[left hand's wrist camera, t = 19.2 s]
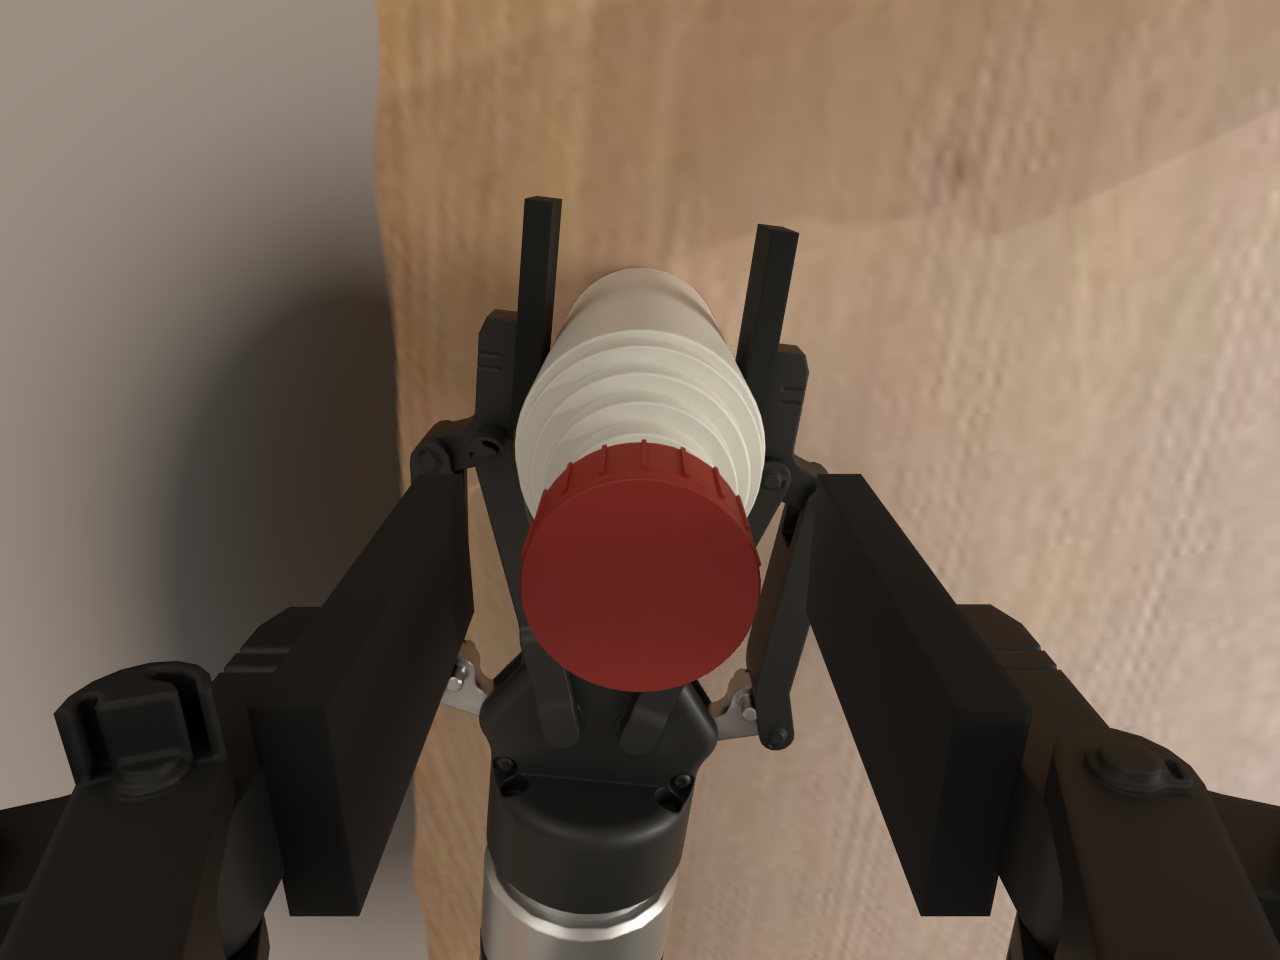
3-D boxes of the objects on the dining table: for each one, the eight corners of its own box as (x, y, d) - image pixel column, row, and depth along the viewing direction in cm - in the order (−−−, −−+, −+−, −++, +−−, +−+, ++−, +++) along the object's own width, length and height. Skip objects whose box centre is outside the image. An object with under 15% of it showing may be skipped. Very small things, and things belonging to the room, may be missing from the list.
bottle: (746, 369, 31) (881, 619, 14) (618, 448, 32) (592, 773, 15) (663, 235, 29) (699, 326, 12) (531, 324, 30) (387, 526, 13)
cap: (533, 633, 15) (519, 692, 13) (530, 433, 14) (514, 470, 12) (739, 639, 15) (752, 699, 14) (757, 440, 14) (774, 479, 12)
